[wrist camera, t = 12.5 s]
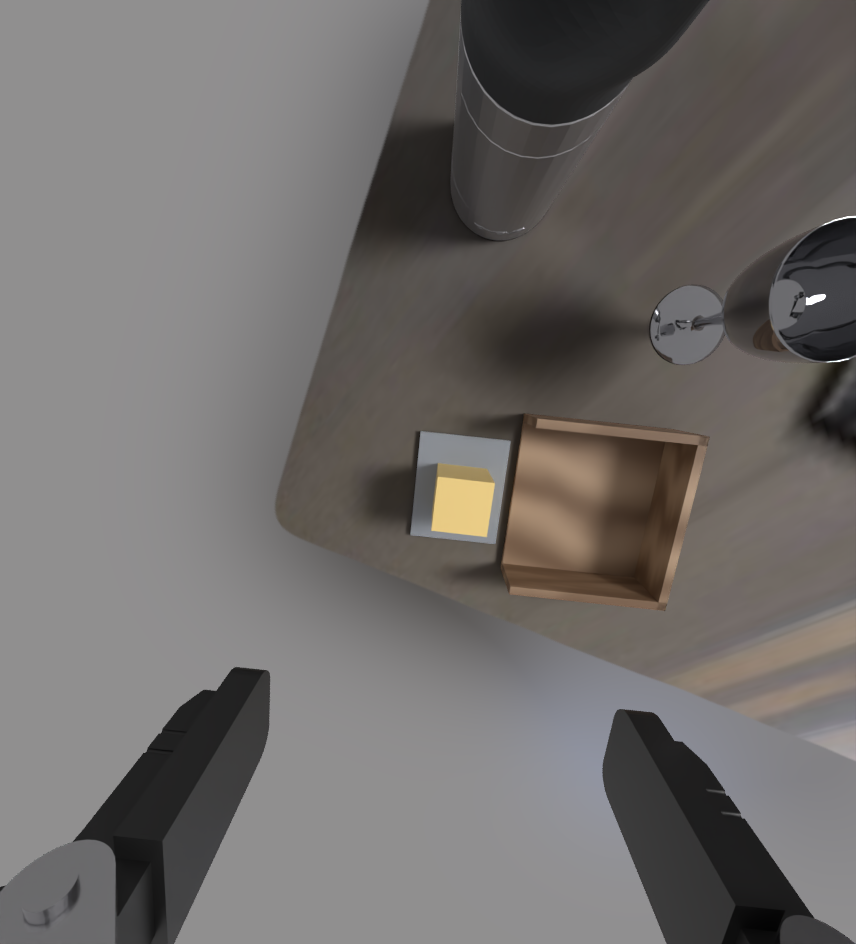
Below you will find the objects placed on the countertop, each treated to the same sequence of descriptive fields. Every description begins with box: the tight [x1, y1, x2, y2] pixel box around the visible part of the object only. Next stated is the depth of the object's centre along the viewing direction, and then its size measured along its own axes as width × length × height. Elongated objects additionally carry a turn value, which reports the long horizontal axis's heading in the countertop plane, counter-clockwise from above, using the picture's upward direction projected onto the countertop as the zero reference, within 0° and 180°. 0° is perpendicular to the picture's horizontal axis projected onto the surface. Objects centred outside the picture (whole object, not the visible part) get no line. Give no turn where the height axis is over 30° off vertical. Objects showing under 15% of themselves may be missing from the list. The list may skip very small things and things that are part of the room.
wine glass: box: [650, 216, 856, 365], centre depth 31 cm, size 8×8×15 cm
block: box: [431, 463, 495, 537], centre depth 39 cm, size 5×5×6 cm
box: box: [500, 414, 710, 611], centre depth 40 cm, size 17×15×6 cm
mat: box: [410, 431, 511, 544], centre depth 42 cm, size 11×9×1 cm
